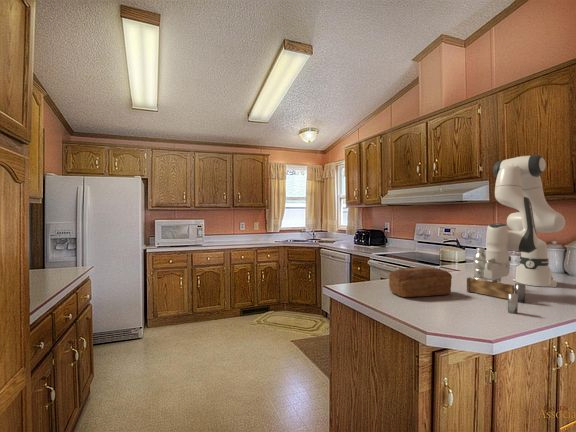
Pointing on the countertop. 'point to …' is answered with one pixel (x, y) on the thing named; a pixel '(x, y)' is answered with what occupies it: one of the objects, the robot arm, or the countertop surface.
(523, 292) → the pivot post
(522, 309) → the countertop surface
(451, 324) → the countertop surface
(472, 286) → the gate
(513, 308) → the stop post
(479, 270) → the plastic bottle
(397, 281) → the bread
